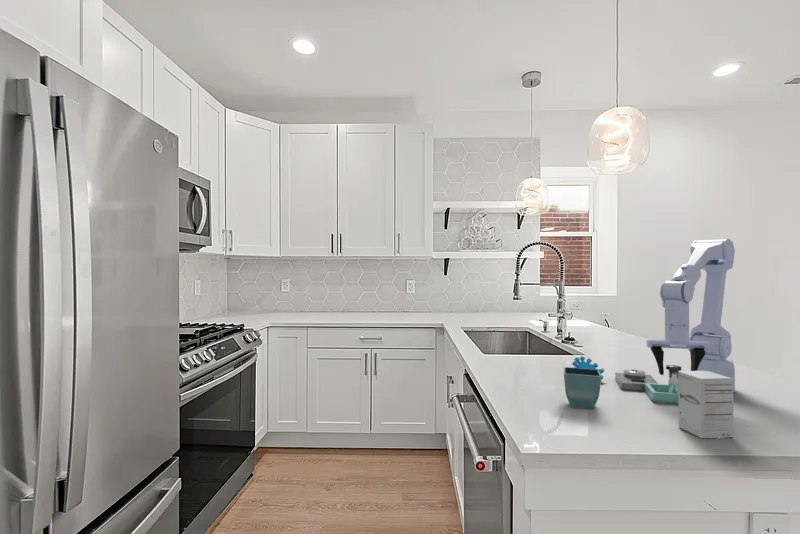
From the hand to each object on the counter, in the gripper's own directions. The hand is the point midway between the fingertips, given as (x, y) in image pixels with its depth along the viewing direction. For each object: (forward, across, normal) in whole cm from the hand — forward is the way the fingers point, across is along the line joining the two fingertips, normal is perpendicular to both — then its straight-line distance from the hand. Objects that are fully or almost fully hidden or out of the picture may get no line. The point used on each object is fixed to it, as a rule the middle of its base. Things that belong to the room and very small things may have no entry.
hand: (677, 375), depth 127 cm
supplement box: (+6, -1, -28) cm, 29 cm away
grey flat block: (+6, -8, +13) cm, 17 cm away
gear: (+7, -21, +12) cm, 26 cm away
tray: (+6, 0, 0) cm, 6 cm away
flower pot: (+6, -25, -15) cm, 30 cm away
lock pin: (+6, -1, 0) cm, 6 cm away
